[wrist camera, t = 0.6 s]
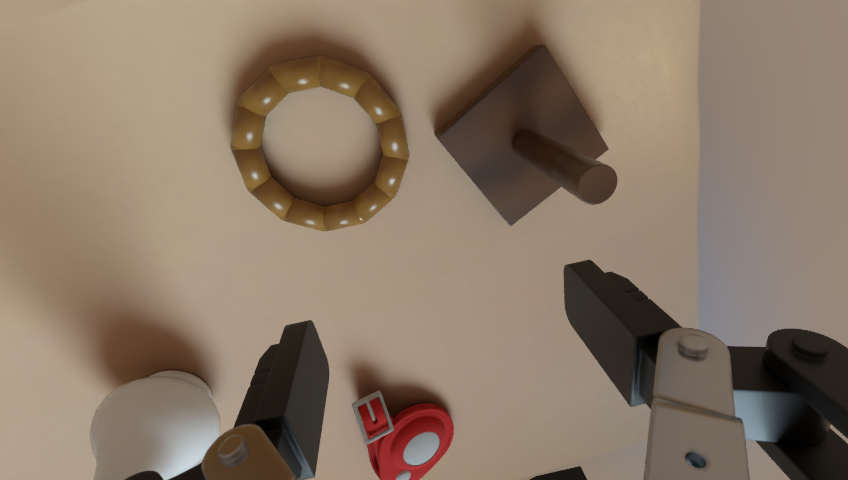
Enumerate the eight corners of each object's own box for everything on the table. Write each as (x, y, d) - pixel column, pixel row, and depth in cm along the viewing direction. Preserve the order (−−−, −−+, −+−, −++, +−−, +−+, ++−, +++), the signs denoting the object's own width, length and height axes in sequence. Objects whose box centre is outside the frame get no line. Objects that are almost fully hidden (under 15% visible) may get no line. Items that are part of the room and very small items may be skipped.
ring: (200, 141, 27) (189, 146, 25) (321, 16, 25) (317, 12, 23) (326, 251, 31) (324, 262, 30) (438, 154, 29) (442, 160, 27)
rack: (434, 134, 28) (468, 178, 18) (535, 44, 27) (637, 36, 16) (504, 219, 32) (567, 297, 22) (598, 145, 30) (715, 190, 20)
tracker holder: (474, 415, 39) (433, 499, 40) (452, 388, 43) (416, 465, 44) (365, 404, 33) (321, 503, 34) (351, 373, 37) (312, 464, 38)
